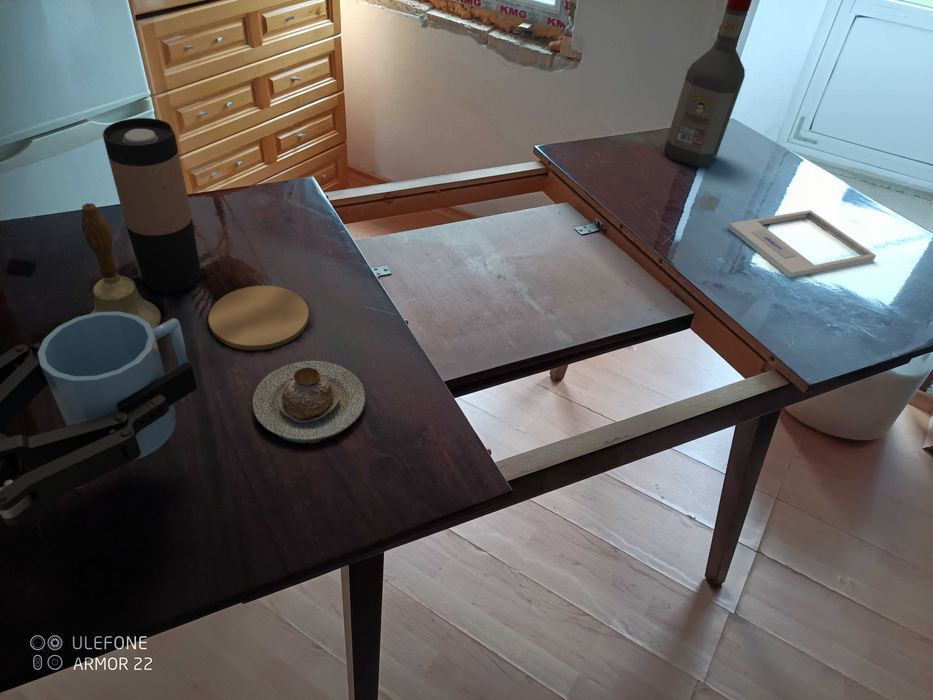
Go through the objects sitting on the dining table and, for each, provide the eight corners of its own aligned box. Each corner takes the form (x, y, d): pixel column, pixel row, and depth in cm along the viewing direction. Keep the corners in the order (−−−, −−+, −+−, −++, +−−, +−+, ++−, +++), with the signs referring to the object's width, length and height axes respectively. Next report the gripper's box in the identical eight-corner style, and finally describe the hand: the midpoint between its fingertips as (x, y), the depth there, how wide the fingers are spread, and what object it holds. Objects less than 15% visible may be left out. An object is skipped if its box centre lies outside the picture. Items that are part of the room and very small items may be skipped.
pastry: (232, 399, 75) (226, 368, 72) (323, 354, 82) (321, 324, 79) (295, 465, 69) (291, 434, 66) (387, 410, 76) (388, 380, 73)
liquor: (705, 171, 130) (765, -1, 110) (659, 156, 133) (710, -13, 113) (718, 155, 136) (777, -10, 116) (674, 141, 139) (724, -22, 119)
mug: (111, 480, 57) (78, 396, 51) (54, 430, 61) (16, 346, 54) (222, 405, 65) (205, 324, 58) (166, 365, 68) (144, 284, 61)
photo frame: (729, 222, 113) (810, 209, 119) (727, 228, 114) (808, 214, 120) (792, 271, 103) (876, 254, 109) (789, 277, 104) (873, 260, 110)
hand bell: (173, 326, 83) (144, 209, 72) (103, 354, 78) (62, 233, 68) (143, 293, 87) (111, 178, 77) (74, 317, 82) (32, 199, 72)
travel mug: (128, 285, 88) (85, 136, 75) (164, 255, 94) (131, 112, 81) (180, 299, 87) (146, 151, 74) (214, 268, 92) (188, 125, 79)
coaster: (187, 328, 83) (186, 323, 82) (252, 279, 91) (251, 275, 91) (268, 363, 80) (267, 358, 79) (327, 309, 88) (327, 304, 88)
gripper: (-176, 472, 53) (98, 332, 67) (-32, 640, 45) (244, 438, 59) (-232, 405, 48) (76, 269, 62) (-82, 579, 40) (233, 376, 54)
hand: (158, 351), depth 61 cm, fingers closed on mug, 8 cm apart
